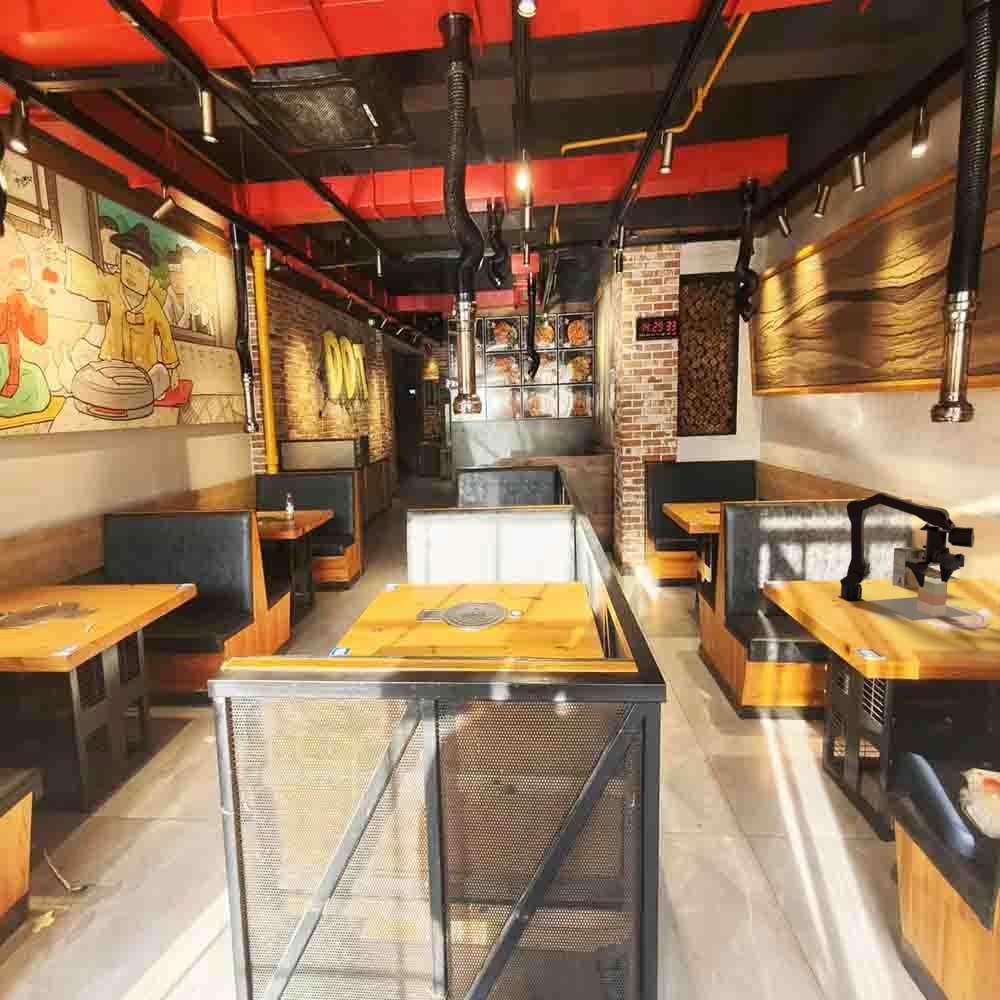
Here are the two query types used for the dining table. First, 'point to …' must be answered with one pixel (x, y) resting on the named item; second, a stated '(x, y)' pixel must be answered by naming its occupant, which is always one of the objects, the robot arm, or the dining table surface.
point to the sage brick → (934, 586)
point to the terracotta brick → (931, 598)
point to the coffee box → (900, 571)
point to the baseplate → (912, 608)
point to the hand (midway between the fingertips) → (932, 586)
